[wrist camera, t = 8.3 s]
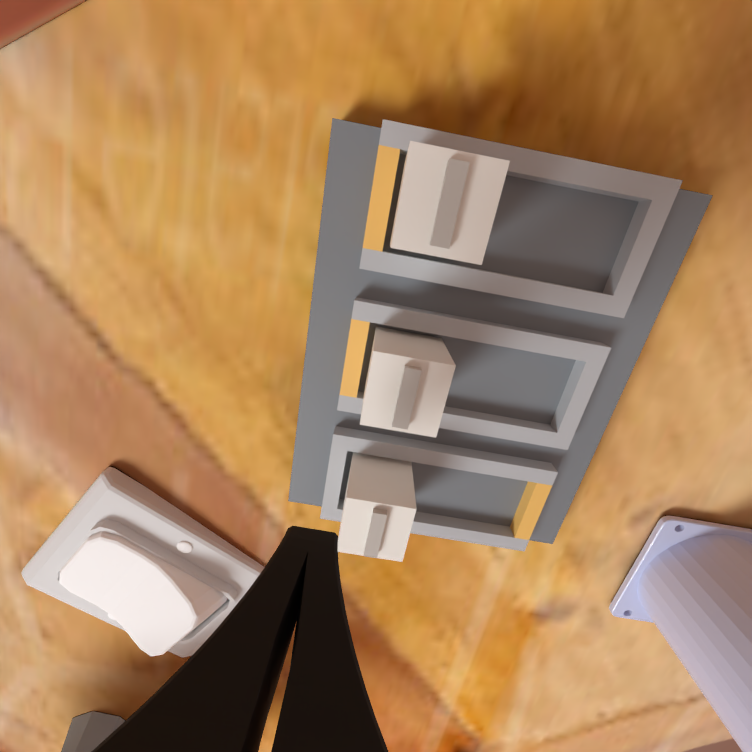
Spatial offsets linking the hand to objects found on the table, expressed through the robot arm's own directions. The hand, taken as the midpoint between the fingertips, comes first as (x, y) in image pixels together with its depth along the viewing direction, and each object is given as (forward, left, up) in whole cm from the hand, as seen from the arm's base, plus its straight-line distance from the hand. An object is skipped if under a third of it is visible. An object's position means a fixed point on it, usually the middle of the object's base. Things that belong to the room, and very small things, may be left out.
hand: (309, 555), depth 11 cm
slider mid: (-2, -3, -8) cm, 9 cm away
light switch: (+10, +14, -10) cm, 20 cm away
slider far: (-2, +3, -8) cm, 9 cm away
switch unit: (-5, -3, -10) cm, 11 cm away
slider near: (-2, -10, -8) cm, 13 cm away
